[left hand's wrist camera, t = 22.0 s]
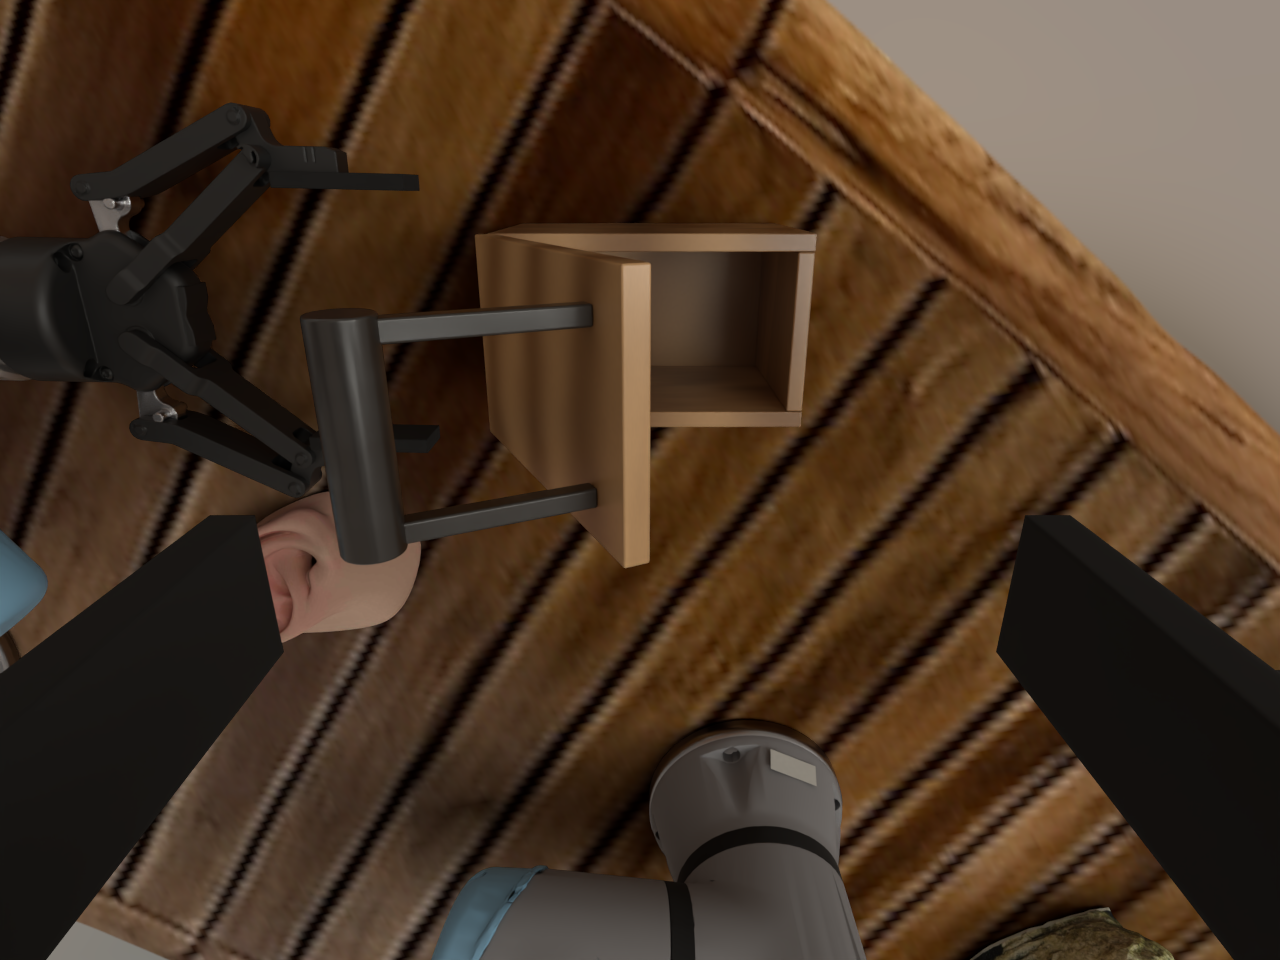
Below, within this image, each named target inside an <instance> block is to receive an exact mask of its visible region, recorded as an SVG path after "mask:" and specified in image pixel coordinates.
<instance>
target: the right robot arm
mask: <svg viewBox="0 0 1280 960" xmlns="http://www.w3.org/2000/svg"><path fill="white" fill-rule="evenodd" d="M237 149H242V150H241V151H240V153H239V154H238V155H237V156H236V157H235V158H234V159H233V160H232V161H231V162H230V163H229V164H228V165H227V166H226V167H225V168H224V170H223V171H222V172H221V173H220V174H219V175H218V176H217V177H216V178H215V179H214V180H213V181H212V182H211V183H210V184H209V185H208V187H207V188H206V189H205V190H204V191H203V192H202V193H201V194H200V195H199V196H198V197H197V198H196V199H195V200H194V201H193V202H192V204H191V205H190V206H189V207H188V208H187V209H186V210H185V211H184V212H183V213H182V214H181V215H180V216H179V217H178V218H177V219H176V220H175V222H174V223H173V224H172V225H171V226H170V227H169V228H168V229H167V230H166V231H165V232H164V233H162V234H160V235H158V236H156V237H155V238H153V239H152V240H151V241H149V240H147V239H146V238H144V237H143V236H141V235H140V234H138V233H137V232H135V231H132V230H130V229H129V220H130V218H131V217H132V216H134V215H136V214H138V213H139V212H140V211H141V209H142V208H143V207H144V205H145V204H144V200H143V199H142V198H144V197H150V196H153V195H156V194H159V193H161V192H163V191H165V190H167V189H169V188H170V187H172V186H174V185H176V184H177V183H179V182H181V181H183V180H184V179H186V178H188V177H190V176H191V175H193V174H195V173H196V172H198V171H200V170H202V169H203V168H205V167H207V166H209V165H210V164H212V163H214V162H216V161H217V160H219V159H221V158H223V157H224V156H226V155H228V154H230V153H231V152H233V151H235V150H237ZM270 186H271V188H310V189H353V190H396V191H420V190H419V178H418V175H409V174H378V173H349V172H348V163H347V155H346V153H345V152H343V151H341V150H339V149H336V148H330V147H312V146H283V145H281V144H280V143H279V142H278V141H277V140H276V139H275V137H274V136H273V134H272V132H271V130H270V119H269V117H268V115H267V114H266V112H265V111H263V110H261V109H259V108H254V107H250V106H245V105H241V104H236V103H228V104H225V105H223V106H222V107H220V108H218V109H217V110H215V111H213V112H211V113H210V114H208V115H206V116H205V117H203V118H201V119H200V120H198V121H196V122H194V123H193V124H191V125H189V126H188V127H186V128H184V129H182V130H181V131H179V132H177V133H176V134H174V135H172V136H171V137H169V138H167V139H165V140H164V141H162V142H160V143H159V144H157V145H155V146H154V147H152V148H150V149H148V150H147V151H145V152H143V153H142V154H140V155H138V156H136V157H135V158H133V159H131V160H130V161H128V162H126V163H125V164H123V165H121V166H119V167H118V168H116V169H114V170H113V171H109V172H99V173H89V174H80V175H76V176H74V177H73V178H72V179H71V182H70V187H71V190H72V192H73V194H74V195H75V196H76V197H77V198H79V199H81V200H84V201H89V203H90V206H91V209H92V211H93V214H94V217H95V220H96V223H97V226H98V229H99V233H97V234H96V235H94V236H93V237H90V238H49V237H14V238H6V237H3V236H0V380H17V381H24V380H30V379H34V380H40V381H75V382H117V383H121V384H124V385H127V386H129V387H131V388H133V389H135V390H137V397H138V406H139V414H140V418H138V419H135V420H133V421H132V422H131V423H130V427H129V429H130V432H131V433H132V435H133V436H134V437H136V438H137V439H140V440H147V441H155V442H163V443H171V444H174V445H176V446H179V447H181V448H183V449H185V450H188V451H190V452H192V453H194V454H197V455H199V456H201V457H203V458H206V459H208V460H210V461H212V462H215V463H217V464H219V465H221V466H224V467H226V468H228V469H230V470H233V471H235V472H237V473H239V474H242V475H244V476H246V477H248V478H251V479H253V480H255V481H257V482H260V483H262V484H264V485H266V486H269V487H271V488H273V489H275V490H278V491H280V492H282V493H284V494H287V495H289V496H291V497H295V498H296V497H301V496H302V495H304V494H305V493H306V492H307V491H308V490H309V489H310V488H311V487H312V486H314V485H315V484H316V483H317V482H318V481H319V480H320V479H321V477H322V471H321V467H322V466H325V464H324V458H323V453H322V447H321V441H320V435H319V430H318V431H317V432H316V431H315V430H313V429H312V428H311V427H309V426H308V425H307V424H305V423H304V422H303V421H301V420H300V419H299V418H297V417H296V416H294V415H293V414H292V413H290V412H289V411H288V410H286V409H285V408H284V407H282V406H281V405H280V404H278V403H277V402H275V401H274V400H273V399H271V398H270V397H269V396H267V395H266V394H265V393H263V392H262V391H261V390H259V389H258V388H257V387H255V386H254V385H252V384H251V383H250V382H248V381H247V380H246V379H244V378H243V377H242V376H240V375H239V374H238V373H236V372H235V371H234V370H233V369H232V365H231V364H230V363H229V362H228V361H227V360H226V359H224V358H223V357H222V356H220V355H219V354H218V353H216V352H215V351H214V350H212V349H211V348H210V347H211V343H212V340H215V339H216V336H215V331H214V325H213V323H212V321H211V319H210V317H209V314H208V312H207V303H208V294H207V289H206V284H205V282H200V280H199V278H198V277H197V275H196V274H195V273H194V272H193V271H192V270H193V269H194V268H195V267H196V266H197V265H198V264H199V263H200V262H201V261H202V260H203V259H204V258H205V257H206V256H207V255H208V254H209V253H210V248H211V246H212V245H213V244H214V243H215V242H216V241H217V240H218V239H219V238H220V237H221V236H222V235H223V234H224V233H225V232H226V231H227V230H228V229H229V228H230V227H231V226H232V225H233V224H234V223H235V222H236V221H237V220H238V219H239V218H240V216H241V215H242V214H243V213H244V212H245V211H246V210H247V209H248V208H249V207H250V206H251V205H252V204H253V203H254V202H255V201H256V200H257V199H258V198H259V197H260V196H261V195H262V194H263V193H264V192H265V191H266V190H267V189H268V188H269V187H270ZM193 365H195V366H196V367H198V368H193V367H191V366H193ZM170 383H172V384H173V385H175V386H176V387H178V388H179V389H180V390H182V391H183V392H185V393H187V394H190V395H195V396H198V397H200V398H202V399H203V400H204V401H206V402H207V403H209V404H210V405H211V406H213V407H214V408H216V409H217V410H218V411H220V412H221V413H223V414H224V415H225V416H227V417H228V418H229V419H231V420H232V421H234V422H235V423H236V424H238V425H239V426H241V427H242V428H243V429H245V430H246V431H248V432H249V433H250V434H252V435H253V436H251V435H249V434H247V433H245V432H243V431H240V430H238V429H236V428H234V427H232V426H229V425H227V424H225V423H223V422H221V421H218V420H216V419H214V418H212V417H209V416H207V415H204V414H202V413H198V412H195V411H189V410H187V408H188V407H187V405H186V403H184V402H179V401H177V400H174V399H172V398H170V397H169V396H168V395H167V393H166V392H165V388H164V387H165V386H167V385H169V384H170ZM392 425H393V433H394V440H395V448H396V452H414V453H428V452H429V451H430V449H431V448H432V447H433V446H434V444H435V443H436V442H437V441H438V440H439V438H440V431H439V425H394V424H392ZM254 436H255V437H254ZM47 585H48V581H47V576H46V575H45V573H44V571H43V570H42V569H41V567H40V566H39V565H37V564H36V563H35V562H34V561H33V560H32V559H31V558H30V557H29V556H28V555H27V554H26V553H25V552H24V551H22V550H21V549H20V548H19V547H18V546H17V545H16V544H15V543H14V542H13V541H12V540H11V539H10V538H9V537H8V536H7V535H6V534H5V533H4V532H3V531H1V530H0V673H2V672H3V671H4V670H6V669H7V668H8V667H10V666H11V665H12V664H14V663H15V662H16V661H18V660H19V659H20V658H19V655H18V652H17V649H16V647H15V644H14V642H13V640H12V638H11V637H10V635H9V633H8V632H7V631H8V630H9V629H11V628H12V627H13V626H14V625H15V624H17V623H18V622H19V621H20V620H21V619H22V618H24V617H25V616H26V615H27V614H28V613H29V612H30V611H31V610H32V609H33V608H34V607H35V606H36V605H37V604H38V603H39V602H40V601H41V600H42V598H43V597H44V595H45V593H46V590H47Z"/></svg>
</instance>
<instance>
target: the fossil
mask: <svg viewBox="0 0 1280 960" xmlns="http://www.w3.org/2000/svg"><path fill="white" fill-rule="evenodd" d="M970 960H1174V958H1173V956H1172V954H1171V953H1170V952H1169V951H1168V950H1167V949H1165V948H1164V947H1162V946H1161V945H1159V944H1158V943H1156V942H1154V941H1152V940H1150V939H1147V938H1145V937H1143V936H1142V935H1140V934H1139V933H1137V932H1133V931H1130V930H1127V929H1125V928H1123V927H1122V926H1121V924H1120V923H1119V922H1118V921H1117V920H1116V919H1115V918H1114V917H1113V915H1112V913H1111V911H1110V909H1109V907H1108V908H1100V909H1092V910H1088V911H1086V912H1083V913H1079V914H1074V915H1071V916H1067V917H1064V918H1061V919H1058V920H1054V921H1049V922H1047V923H1046V924H1044V925H1043V926H1038V927H1033V928H1029V929H1026V930H1024V931H1021V932H1019V933H1017V934H1014V935H1012V936H1009V937H1007V938H1004V939H1002V940H1000V941H998V942H996V943H994V944H992V945H990V946H988V947H987V948H985V949H983V950H982V951H981V952H979V953H978V954H977V955H975V956H974V957H973V958H971V959H970Z"/></svg>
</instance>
